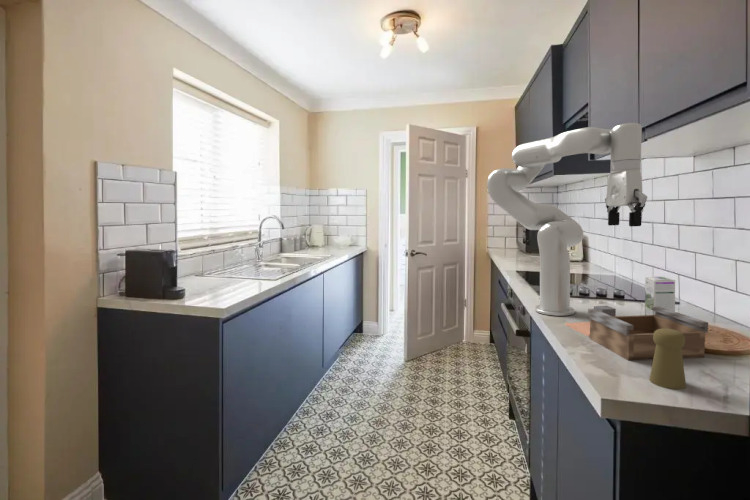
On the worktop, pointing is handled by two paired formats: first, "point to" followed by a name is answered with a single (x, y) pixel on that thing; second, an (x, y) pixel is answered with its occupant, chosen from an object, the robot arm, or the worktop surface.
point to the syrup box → (659, 294)
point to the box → (646, 332)
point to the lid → (585, 326)
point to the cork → (668, 359)
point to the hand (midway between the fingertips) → (623, 225)
